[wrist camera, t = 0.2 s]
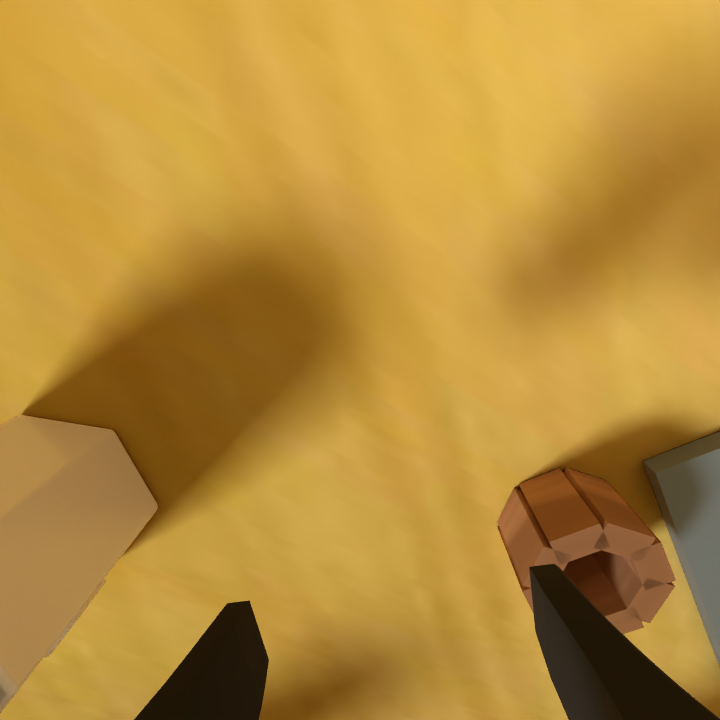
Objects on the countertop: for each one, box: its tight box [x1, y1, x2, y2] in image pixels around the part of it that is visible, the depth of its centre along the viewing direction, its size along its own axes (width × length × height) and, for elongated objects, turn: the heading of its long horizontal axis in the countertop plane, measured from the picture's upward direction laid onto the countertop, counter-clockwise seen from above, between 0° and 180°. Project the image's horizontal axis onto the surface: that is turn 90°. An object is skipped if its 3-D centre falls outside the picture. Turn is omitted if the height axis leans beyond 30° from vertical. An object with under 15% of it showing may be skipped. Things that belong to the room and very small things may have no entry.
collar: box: [498, 468, 675, 634], centre depth 20 cm, size 6×6×4 cm
